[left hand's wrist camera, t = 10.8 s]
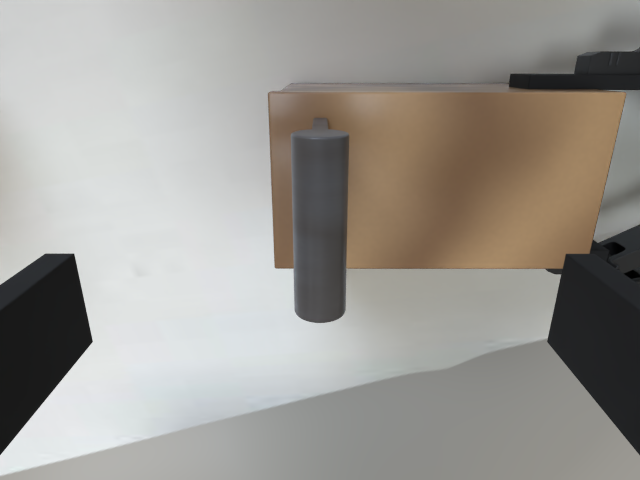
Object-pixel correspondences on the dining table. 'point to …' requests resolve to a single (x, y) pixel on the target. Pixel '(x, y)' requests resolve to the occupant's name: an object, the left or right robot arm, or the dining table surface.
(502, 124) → the lid
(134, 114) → the dining table surface
